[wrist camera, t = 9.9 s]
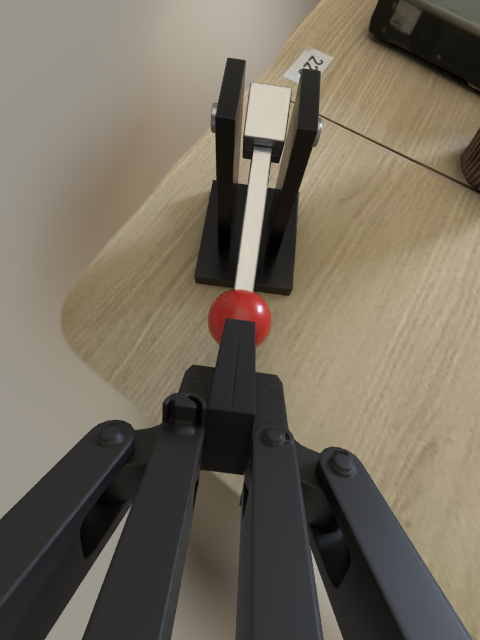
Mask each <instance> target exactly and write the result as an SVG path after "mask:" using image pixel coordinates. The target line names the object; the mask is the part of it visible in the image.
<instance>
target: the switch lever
mask: <svg viewBox="0 0 480 640" xmlns="http://www.w3.org/2000/svg"><path fill="white" fill-rule="evenodd" d="M291 94H292V88H290V87H283V86H276V85H269V84H262V83H255V82H251V83H250V90H249V97H248V105H247V112H246V120H245V127H244V135H243V158H245V159H251V164H250V172H249V179H248V187H247V194H246V202H245V209H244V217H243V224H242V232H241V239H240V247H239V254H238V262H237V269H236V277H235V284H234V289H233V290H229V291H227V292H225V293H223V294H221V295H220V296H219V297H218V298H217V299H216V300H215V301H214V302H213V304H212V306H211V308H210V310H209V314H208V327H209V330H210V333H211V335H212V337H213V338H214V340H215V341H216V342H217V343H218V344H219V345H220V343H221V338H222V333H223V329H224V324H225V319H226V318H230V319H238V320H245V321H253V322H255V348H256V347H258V346H259V345H260V344H261V343H262V342H263V341H264V340H265V339H266V337H267V335H268V333H269V331H270V327H271V313H270V310H269V307H268V305H267V304H266V302H265V301H264V300H263V298H262V297H260V296H259V295H258V294H256V293H255V292H254V284H255V277H256V270H257V262H258V255H259V247H260V240H261V233H262V225H263V218H264V210H265V203H266V196H267V188H268V181H269V174H270V166H271V162H273V163H279V161H280V157H281V154H282V150H283V147H284V143H285V138H286V131H287V123H288V116H289V109H290V101H291Z"/></svg>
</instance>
